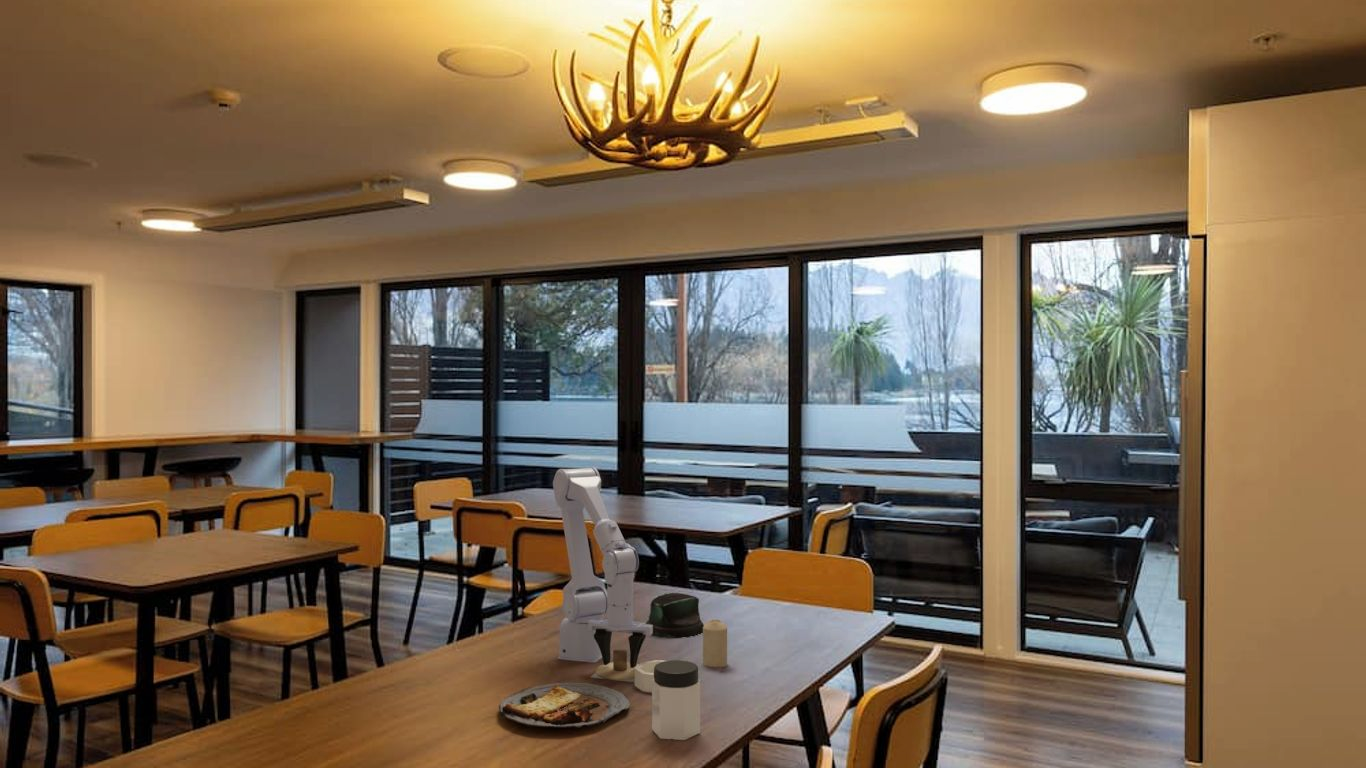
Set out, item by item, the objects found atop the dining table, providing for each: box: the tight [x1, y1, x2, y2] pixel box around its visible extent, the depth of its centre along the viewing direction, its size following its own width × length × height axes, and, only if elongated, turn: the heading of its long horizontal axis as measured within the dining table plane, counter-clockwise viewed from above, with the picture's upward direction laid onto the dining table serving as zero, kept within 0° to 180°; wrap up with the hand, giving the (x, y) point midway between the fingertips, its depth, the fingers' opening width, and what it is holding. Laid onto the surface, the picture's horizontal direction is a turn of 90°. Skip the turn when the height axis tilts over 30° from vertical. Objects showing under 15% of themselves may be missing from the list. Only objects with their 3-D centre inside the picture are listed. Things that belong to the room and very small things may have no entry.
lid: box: [595, 648, 640, 681], centre depth 203 cm, size 10×10×5 cm
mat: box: [590, 672, 635, 683], centre depth 203 cm, size 10×10×1 cm
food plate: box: [498, 682, 631, 730], centre depth 180 cm, size 25×23×4 cm
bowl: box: [634, 659, 666, 693], centre depth 195 cm, size 10×10×4 cm
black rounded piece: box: [642, 592, 705, 639], centre depth 240 cm, size 20×20×9 cm
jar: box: [651, 659, 701, 741], centre depth 170 cm, size 9×8×12 cm
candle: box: [702, 619, 728, 668], centre depth 210 cm, size 6×6×10 cm
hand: (620, 665), depth 203 cm, fingers open, 6 cm apart
